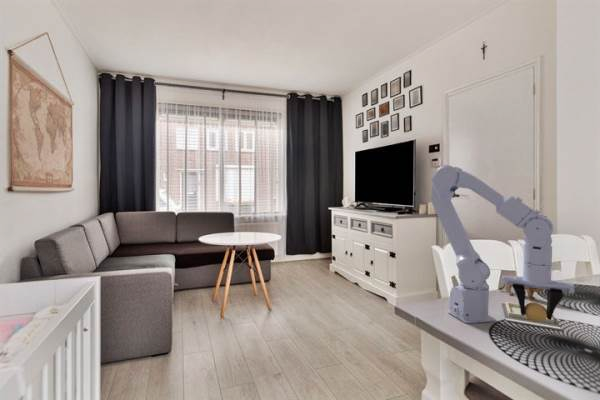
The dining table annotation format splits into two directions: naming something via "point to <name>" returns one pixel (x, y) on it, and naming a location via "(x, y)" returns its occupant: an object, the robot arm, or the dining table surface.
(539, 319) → the ball
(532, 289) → the lion figurine
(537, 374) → the dining table surface
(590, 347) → the dining table surface
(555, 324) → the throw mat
